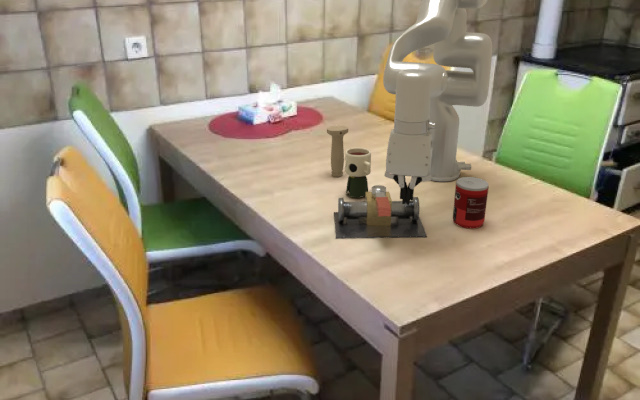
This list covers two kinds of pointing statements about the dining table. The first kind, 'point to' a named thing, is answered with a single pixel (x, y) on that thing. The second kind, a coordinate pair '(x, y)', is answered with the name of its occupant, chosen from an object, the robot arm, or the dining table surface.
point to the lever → (381, 200)
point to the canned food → (470, 202)
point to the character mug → (357, 171)
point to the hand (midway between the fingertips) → (406, 202)
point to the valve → (378, 219)
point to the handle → (337, 149)
